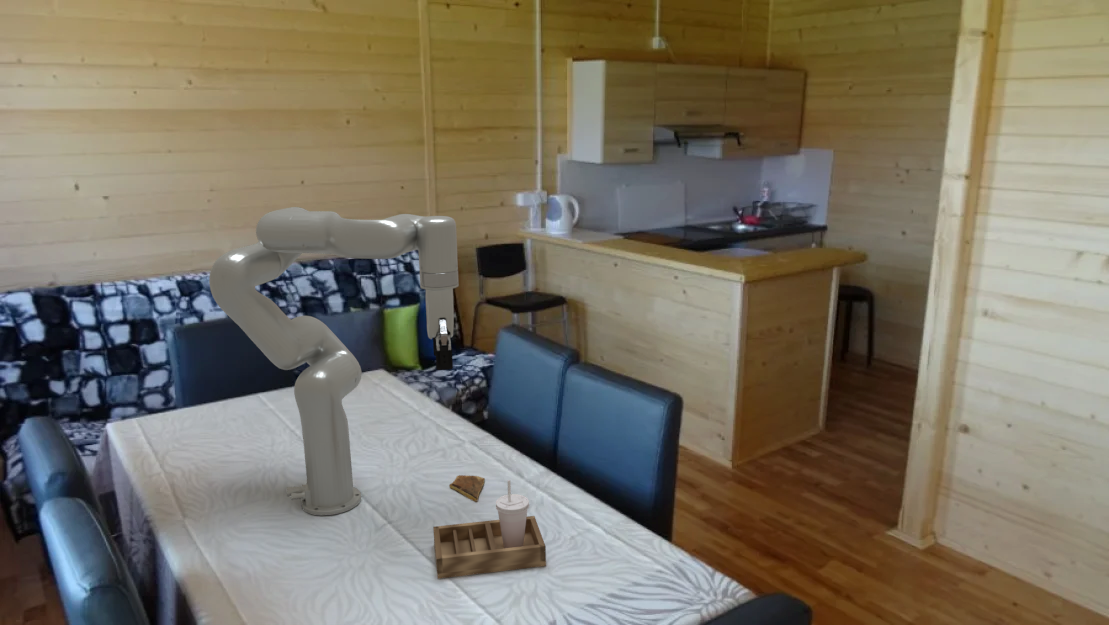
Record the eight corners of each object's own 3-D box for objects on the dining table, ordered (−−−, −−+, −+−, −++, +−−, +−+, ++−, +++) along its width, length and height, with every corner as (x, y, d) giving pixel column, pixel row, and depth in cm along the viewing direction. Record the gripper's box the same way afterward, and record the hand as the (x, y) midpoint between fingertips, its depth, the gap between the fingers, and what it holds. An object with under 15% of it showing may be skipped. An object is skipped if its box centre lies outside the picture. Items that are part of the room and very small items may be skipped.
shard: (477, 504, 172) (476, 497, 172) (442, 503, 173) (442, 496, 173) (486, 482, 183) (486, 475, 182) (453, 481, 184) (453, 474, 183)
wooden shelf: (437, 578, 144) (436, 559, 143) (434, 545, 155) (433, 526, 154) (545, 565, 147) (545, 546, 146) (534, 533, 159) (534, 515, 158)
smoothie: (496, 539, 155) (494, 473, 151) (529, 537, 155) (528, 472, 152) (497, 557, 149) (495, 489, 145) (531, 555, 149) (529, 487, 146)
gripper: (418, 272, 164) (422, 351, 168) (421, 289, 147) (426, 376, 151) (454, 270, 165) (458, 349, 169) (462, 286, 149) (465, 373, 153)
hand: (443, 362), depth 160 cm, fingers open, 9 cm apart
